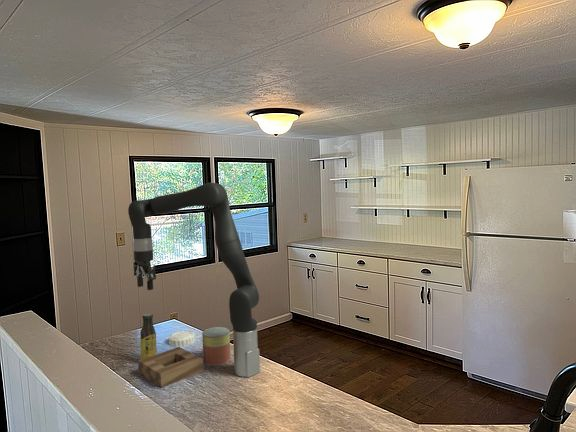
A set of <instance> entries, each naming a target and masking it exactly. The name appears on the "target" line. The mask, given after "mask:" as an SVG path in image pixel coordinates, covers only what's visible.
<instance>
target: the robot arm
mask: <svg viewBox="0 0 576 432" xmlns="http://www.w3.org/2000/svg"><path fill="white" fill-rule="evenodd" d="M190 207H209V208H210V210H211V212H212V216H213V218H214V241H215V246H216V249H217V253H218V254H219V258H220V259H221V261H222V263H223V264H224V265H225V266H226V268H227V269H228V270H229V272H230V273H231V274H232V276H233V278H234V281H235V285H236V288H237V289H235V290H233V291H232V292H231V293H230V296H229V299H228V301H229V302H228V307H229V317H230V323H231V325H232V339H233V364H234V365H233V367H234V374H235V375H236V376H239V377H245V378H250V377H252V376H255V375H257V374H259V373H261V365H260V362H261V361H260V348H258V322H257V320H256V319H255V318H253V315H252V309H254V308H255V307H256V306H257V305H258V304H259V301H260V295H259V294H260V293H259V291H258V288H257V286H256V284H255V281H254V278H253V277H252V273H251V272H250V269H249V266H248V263H247V260H246V256H245V252H244V249H243V245H242V243H241V239H240V237H239V234H238V231H237V228H236V225H235V221H234V218H233V216H232V211H231V207H230V203H229V197H228V192H227V189H226V188H225V187H224V186H223V185H222V184H221V183H217V182H206V183H203V184H201V185H199V186H196V187H195V188H192V189H188V190H185V191H181V192H174V193H169V194H168V193H167V194H163V195H158V196H155V197H153V198H147V199H138V200H133V201H131V203H129V205H128V209H127V210H128V211H127V212H128V218H129V221H130V224H131V226H132V227H131V228H132V232H133V233H132V234H133V235H132V236H133V237H132V238H133V242H132V247H133V250H132V251H133V275H134V276H135V278H136V282H137V283H136V285H137V287H138V288H141V287H144V278H145V279H146V287H147V288H146V289H147V291H152V290H154V280H156V278H157V277H156V276H157V275H156V266H155V264H151V261H154V248H153V247H154V246H153V244H154V243H153V238H152V237H153V236H152V227H151V223H147V221H146V218H147V217H152V216H154V215H159V214H161V215H162V214H166V213H167V214H169V213H172V212H175V211H179V210H182V209H184V208H190ZM143 276H144V277H143Z"/></svg>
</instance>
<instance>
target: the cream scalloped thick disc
mask: <svg viewBox="0 0 576 432" xmlns="http://www.w3.org/2000/svg"><path fill="white" fill-rule="evenodd" d="M194 341H195V342H196V333H194V332H192V331H187V330H184V331H182V330H181V331H177V332H173V333H172V334H170V335H169V336H168V345H169V346H171V347H175V348H177V347H180V348H182V347H186V345H187V346H190V345H192V344H194V343H195V342H194ZM189 344H190V345H189Z"/></svg>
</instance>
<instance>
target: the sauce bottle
mask: <svg viewBox="0 0 576 432" xmlns="http://www.w3.org/2000/svg"><path fill="white" fill-rule="evenodd" d="M153 318H154V314H153V313H152V312H151V313H150V312H148V313H143V314H142V322H143V323H142V324H143V325H142V327H141V329H140V332H139V333H140V337H139V339H140V341H139V342H140V360H141V359H144V358H147V357H150V356H153V355H156V354H157V332H156V329H155V326H154V324H153Z"/></svg>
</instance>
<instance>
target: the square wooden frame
mask: <svg viewBox="0 0 576 432" xmlns="http://www.w3.org/2000/svg"><path fill="white" fill-rule="evenodd" d="M137 367H138V368H137V369H138V373H139V374H140V375H141V376H143V377H144V378H146V379H147V380H149V381H150V382H152V383H153V384H155V385H157V386H158V387H160V388H165V387H167V386H169V385H173V384H174V383H177V382H179V381H182V380H185V379H186V378H187V379H188V378H190V377H192V376H195V375H197V374H199V373H200V374H201V373H202V372H204V362H203V357H200V356H199V355H196V354H194V353H192V352H190V351H188V350H186V349H184V348H182V347H175V348H172V349H169V350H165V351H162V352H159V353H156V355H153V356H150V357H147V358H144V359H141V358H140V359H139V360H137Z"/></svg>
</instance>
